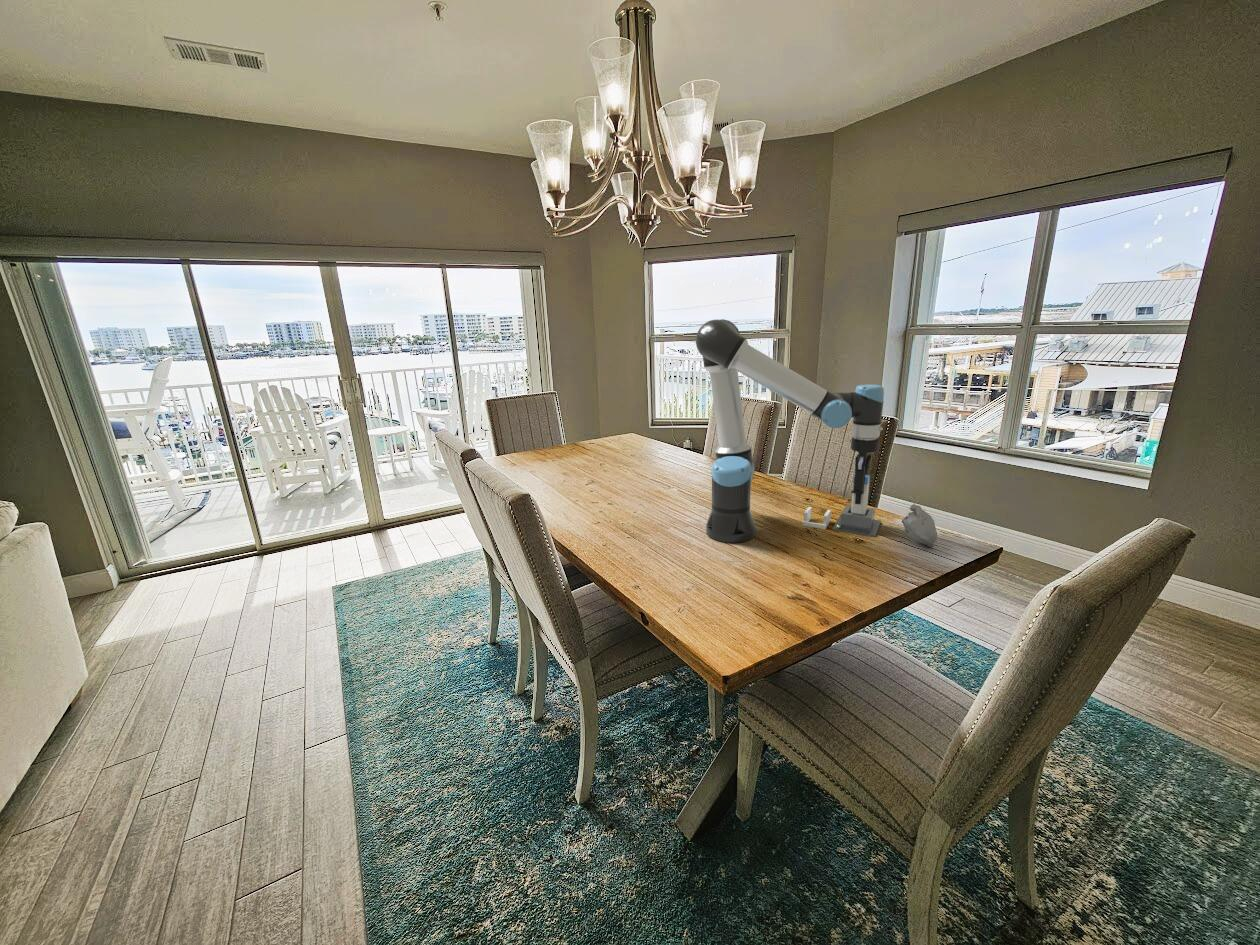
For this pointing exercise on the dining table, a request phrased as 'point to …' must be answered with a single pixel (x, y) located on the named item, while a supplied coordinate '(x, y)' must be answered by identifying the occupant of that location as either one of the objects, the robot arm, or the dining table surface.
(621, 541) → the dining table surface
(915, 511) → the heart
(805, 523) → the holster
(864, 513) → the plug
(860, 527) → the port panel
